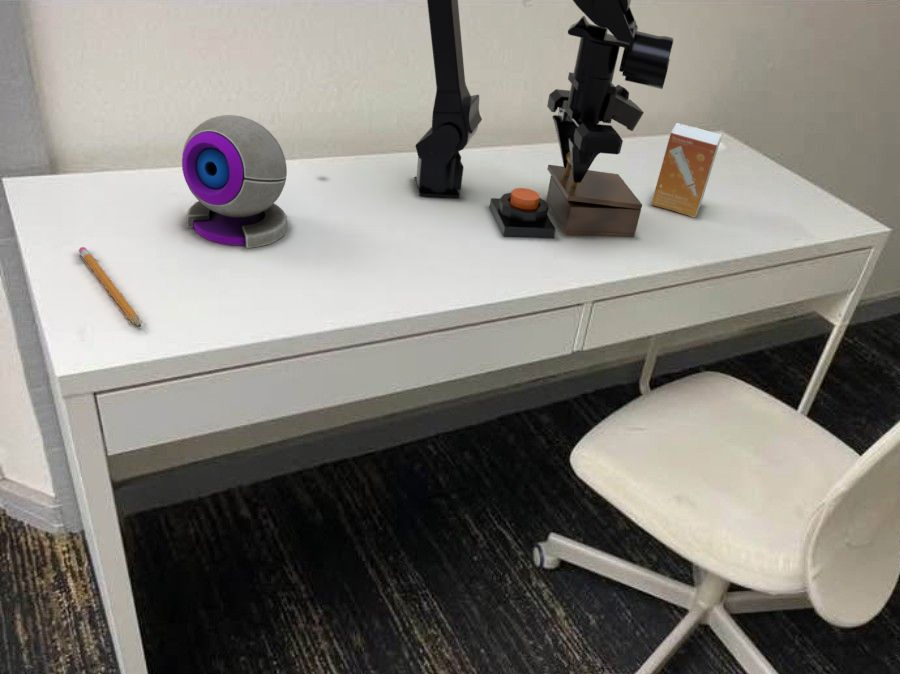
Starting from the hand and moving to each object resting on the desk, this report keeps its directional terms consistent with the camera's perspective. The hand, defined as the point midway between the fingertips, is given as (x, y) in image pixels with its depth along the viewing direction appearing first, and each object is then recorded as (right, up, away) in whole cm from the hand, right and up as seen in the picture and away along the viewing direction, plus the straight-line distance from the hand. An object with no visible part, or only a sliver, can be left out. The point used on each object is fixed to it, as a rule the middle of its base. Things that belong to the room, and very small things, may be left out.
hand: (572, 175), depth 132 cm
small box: (+19, -1, +17) cm, 25 cm away
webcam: (-47, -11, -15) cm, 50 cm away
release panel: (-8, -7, +1) cm, 11 cm away
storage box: (+3, -6, +6) cm, 9 cm away
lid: (+3, -2, +2) cm, 4 cm away
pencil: (-55, -22, -32) cm, 68 cm away
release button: (-7, -5, -1) cm, 9 cm away
